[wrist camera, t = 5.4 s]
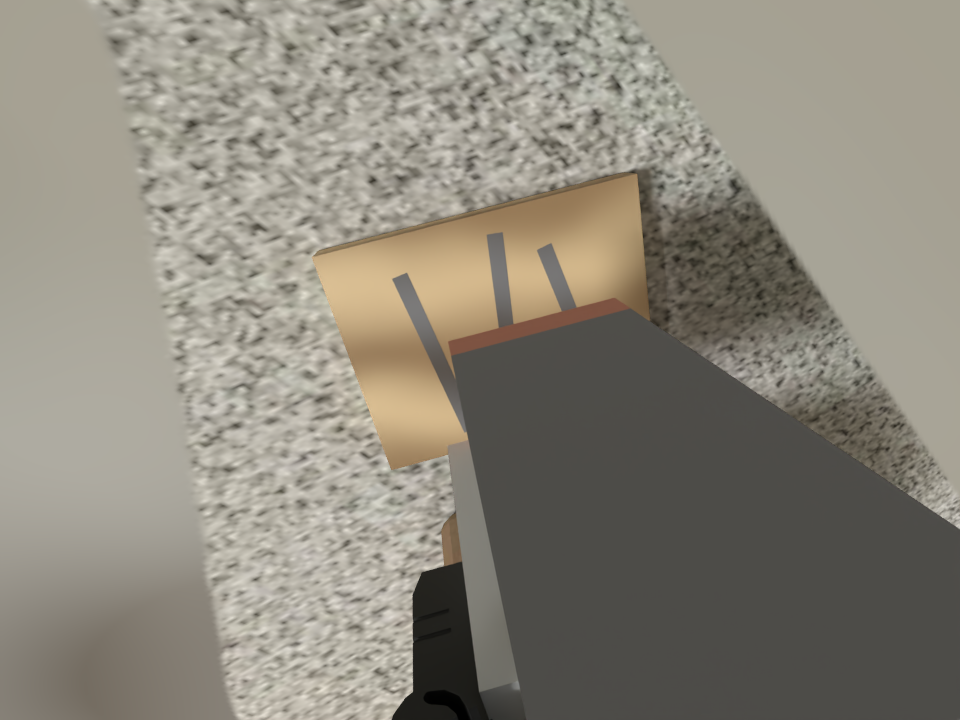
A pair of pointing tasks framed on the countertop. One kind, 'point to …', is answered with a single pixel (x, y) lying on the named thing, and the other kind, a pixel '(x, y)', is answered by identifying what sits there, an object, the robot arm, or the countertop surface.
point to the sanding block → (694, 539)
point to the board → (473, 295)
